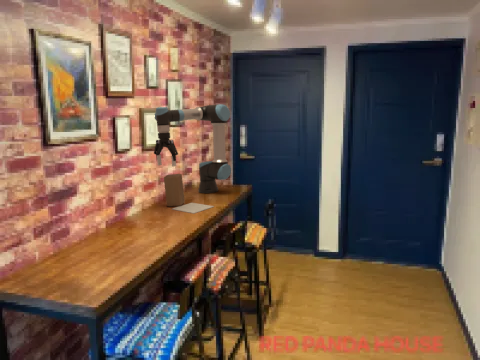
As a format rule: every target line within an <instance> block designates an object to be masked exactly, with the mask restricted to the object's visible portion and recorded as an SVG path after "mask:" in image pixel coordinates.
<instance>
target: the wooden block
mask: <svg viewBox="0 0 480 360" xmlns="http://www.w3.org/2000/svg"><path fill="white" fill-rule="evenodd" d="M183 182H184V181H183V175H182V174H181V173H171V174H167V175H165V176H163V183H164V184H163V185H164V193H165V200H166V201H165V202H166V206H167V207H179V206H183V205H184V203H185V202H186V201H185V194H184V193H185V192H184V183H183Z"/></svg>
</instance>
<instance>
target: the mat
mask: <svg viewBox="0 0 480 360" xmlns="http://www.w3.org/2000/svg"><path fill="white" fill-rule="evenodd" d="M214 207H215V206H214V205H209V204H203V203H196V202H190V203H187V204H186V203H185V204H182V205H181V206H175V207H173V208H171V211H172V210H173V211H178V212H183V213H188V214H193V215H194V214H197V213H200V212H202V211H206V210H209V209H212V208H214Z"/></svg>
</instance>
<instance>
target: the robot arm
mask: <svg viewBox="0 0 480 360" xmlns="http://www.w3.org/2000/svg"><path fill="white" fill-rule="evenodd" d="M154 115H155V117H154V120H155V121H156V126H157V138H158V139H156V140H155V145H154V151H153V154H154V155H155V156H156V162H157V163H156V164H157V166H162V155H161V154H162V151H163V148H166V149H167V150H168V151H169V153H170V155H171V156H170V157H171V167H177V156H178V155H179V152H178V149H177V148H176V145H175V142H174V140H173V139H171V129H170V123H175V122H176V123H177V122H178V123H179V122H182V121H191V120H196V121H205V122H206V121H207V122H210V124H211V125H212V132H213V133H212V136H213V139H212V140H213V141H212V142H213V160H209V161H202V162H200V163H199V166H198V169H199V170H198V171H199V185H198V193H200V194H213V193H217V192H219V186H218V184H217V181H216V180H219V181H221V180H222V181H225V180H227V179H228V178H229V177H230V176H231V173H232V167H231V165H230V164H229V161H228V160H227V158H226V156H227V155H226V153H227V152H226V125H227V124H228V120H229V119H230V118H231V110H230V109H229V107H228V106H227V105H225V104H222V103H219V104H209V105H204V106H197V107H195V108H185V109H183V108H182V109H169V107H168V106H167V107H166V106H161V107H160V106H159V107H155V113H154Z"/></svg>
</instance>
